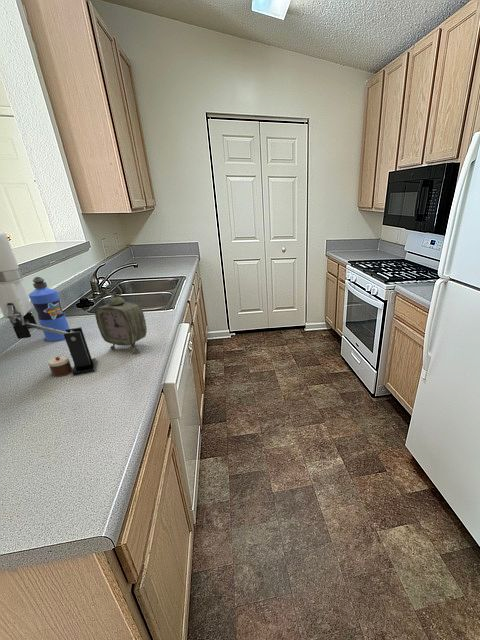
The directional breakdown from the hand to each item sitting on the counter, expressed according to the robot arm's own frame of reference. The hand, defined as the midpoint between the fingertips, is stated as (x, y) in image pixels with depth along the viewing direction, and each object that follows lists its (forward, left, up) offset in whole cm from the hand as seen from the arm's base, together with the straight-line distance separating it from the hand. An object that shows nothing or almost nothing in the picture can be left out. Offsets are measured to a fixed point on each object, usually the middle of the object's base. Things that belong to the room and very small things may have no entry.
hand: (28, 332), depth 103 cm
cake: (+5, 0, -15) cm, 16 cm away
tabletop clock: (+25, +11, -15) cm, 32 cm away
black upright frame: (+11, 0, -15) cm, 19 cm away
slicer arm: (+5, 0, -1) cm, 6 cm away
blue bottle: (-2, +38, -15) cm, 41 cm away
